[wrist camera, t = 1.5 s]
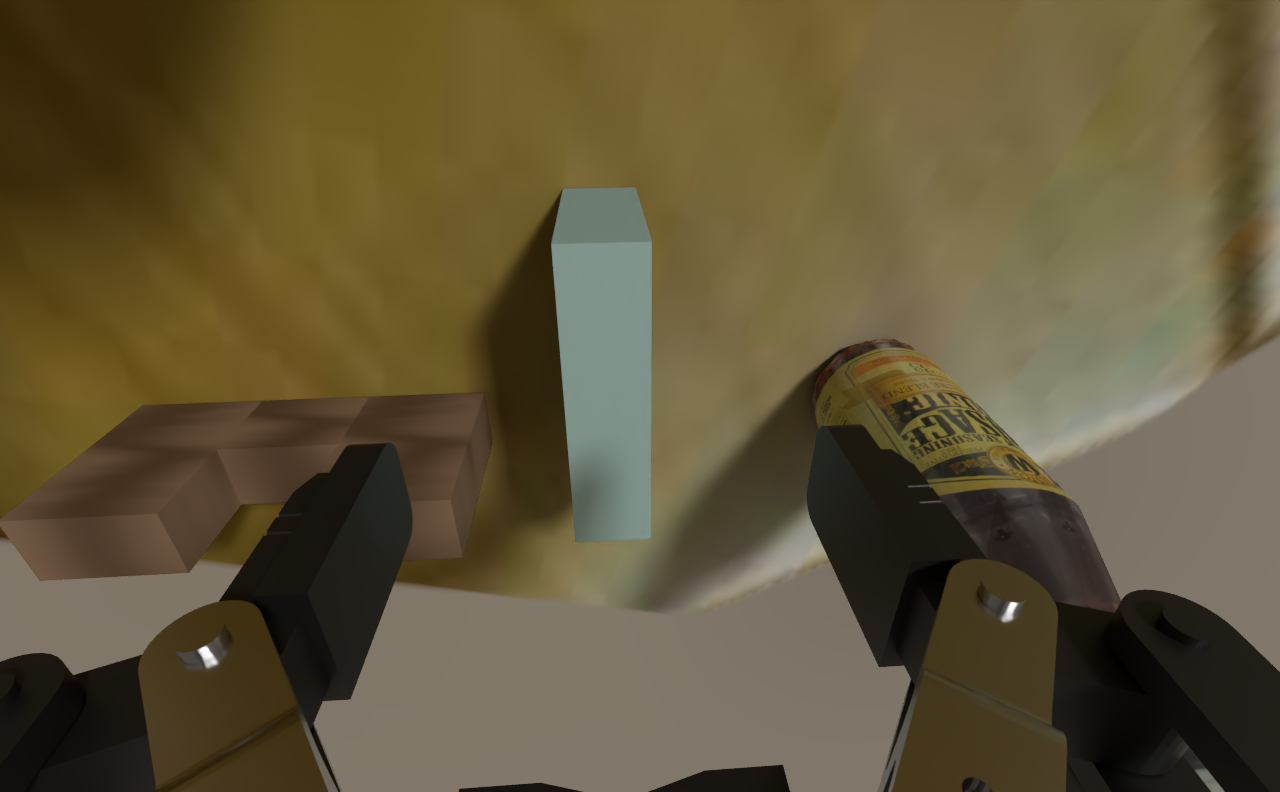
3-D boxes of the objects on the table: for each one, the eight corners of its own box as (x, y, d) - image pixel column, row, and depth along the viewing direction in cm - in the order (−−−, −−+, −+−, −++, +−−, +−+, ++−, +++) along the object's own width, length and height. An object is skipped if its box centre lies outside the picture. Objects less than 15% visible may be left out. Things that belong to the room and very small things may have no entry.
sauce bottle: (948, 346, 30) (1436, 756, 12) (890, 446, 32) (1220, 890, 15) (829, 317, 28) (1190, 728, 11) (780, 424, 31) (1006, 880, 14)
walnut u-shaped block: (167, 456, 30) (39, 580, 23) (142, 405, 28) (-4, 521, 21) (492, 443, 31) (463, 558, 24) (484, 392, 29) (450, 499, 22)
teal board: (562, 188, 25) (550, 243, 18) (635, 187, 25) (652, 241, 18) (579, 431, 31) (575, 542, 24) (637, 428, 31) (650, 538, 24)
